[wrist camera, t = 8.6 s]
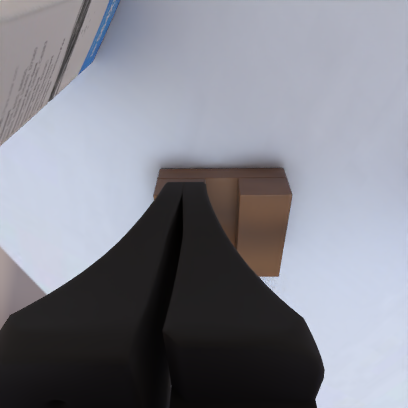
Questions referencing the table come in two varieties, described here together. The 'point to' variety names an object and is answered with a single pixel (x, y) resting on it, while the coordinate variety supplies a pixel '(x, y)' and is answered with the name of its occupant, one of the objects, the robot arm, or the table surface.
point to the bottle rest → (245, 209)
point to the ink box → (45, 52)
